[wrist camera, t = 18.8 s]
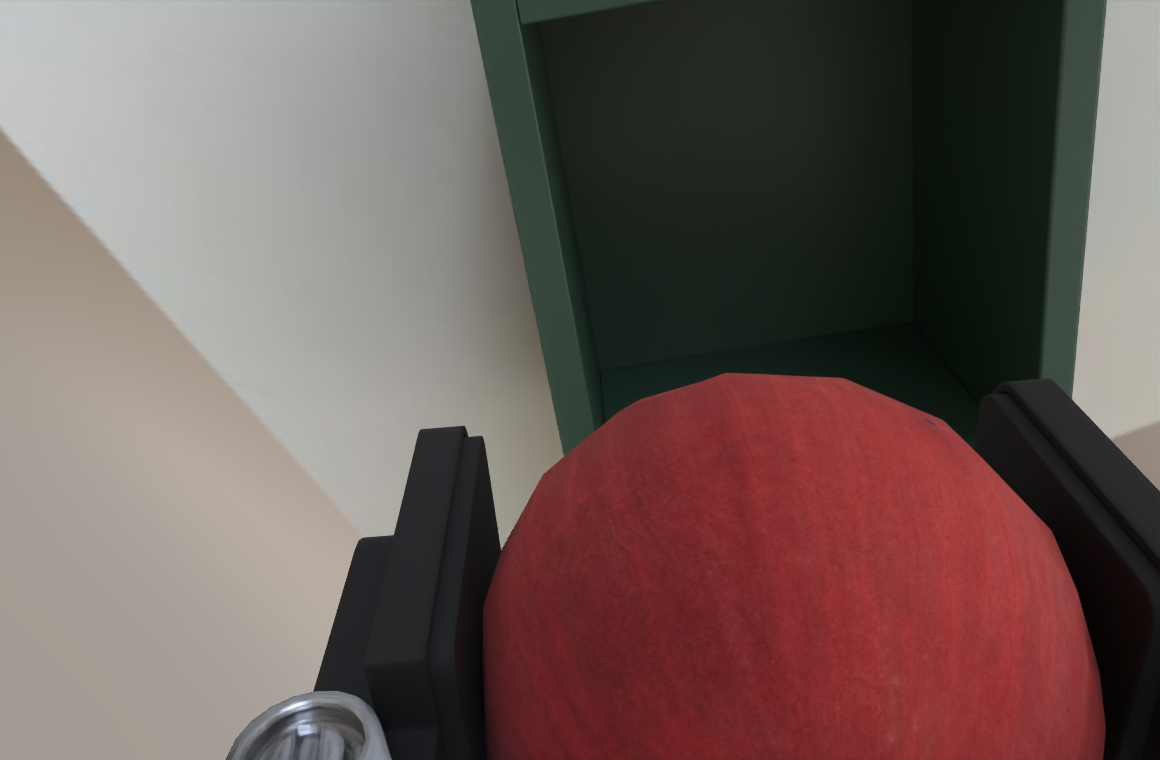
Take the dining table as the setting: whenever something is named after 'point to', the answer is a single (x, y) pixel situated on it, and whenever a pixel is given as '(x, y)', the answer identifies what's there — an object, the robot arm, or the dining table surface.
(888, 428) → the onion
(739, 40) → the bin
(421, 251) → the dining table surface
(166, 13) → the dining table surface
